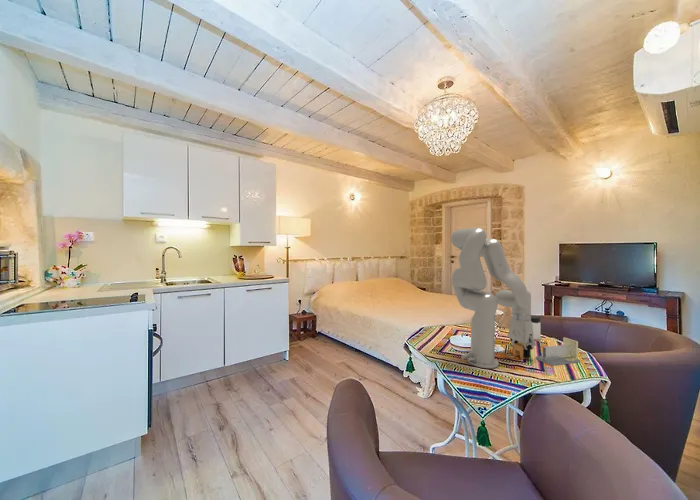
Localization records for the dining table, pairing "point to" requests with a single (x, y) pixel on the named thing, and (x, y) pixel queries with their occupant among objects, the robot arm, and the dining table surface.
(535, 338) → the jar
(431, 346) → the dining table surface
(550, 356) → the flange rail
